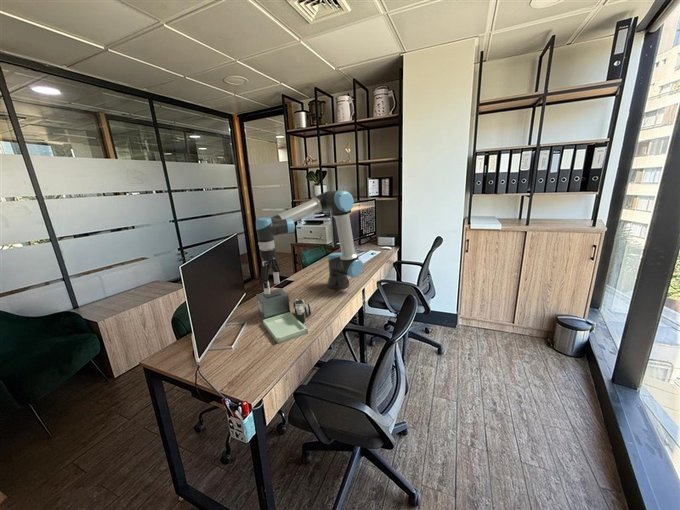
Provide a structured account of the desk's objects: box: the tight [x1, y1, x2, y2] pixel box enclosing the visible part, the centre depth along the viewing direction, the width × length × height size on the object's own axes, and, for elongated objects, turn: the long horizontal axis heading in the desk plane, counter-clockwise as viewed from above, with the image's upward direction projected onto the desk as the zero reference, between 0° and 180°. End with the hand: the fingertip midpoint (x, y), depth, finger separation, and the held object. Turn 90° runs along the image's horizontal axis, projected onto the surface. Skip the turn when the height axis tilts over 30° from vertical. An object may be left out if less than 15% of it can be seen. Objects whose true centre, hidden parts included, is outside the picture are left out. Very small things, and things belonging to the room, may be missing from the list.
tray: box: [262, 311, 308, 345], centre depth 137 cm, size 15×22×2 cm
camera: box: [292, 298, 312, 325], centre depth 147 cm, size 16×9×10 cm, turn 17°
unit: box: [255, 288, 291, 321], centre depth 151 cm, size 15×12×12 cm
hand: (272, 288), depth 144 cm, fingers open, 13 cm apart
